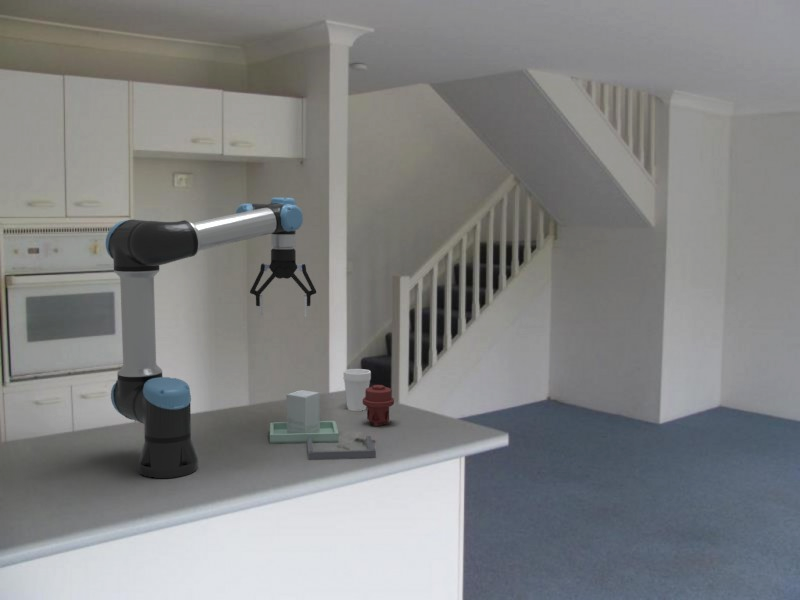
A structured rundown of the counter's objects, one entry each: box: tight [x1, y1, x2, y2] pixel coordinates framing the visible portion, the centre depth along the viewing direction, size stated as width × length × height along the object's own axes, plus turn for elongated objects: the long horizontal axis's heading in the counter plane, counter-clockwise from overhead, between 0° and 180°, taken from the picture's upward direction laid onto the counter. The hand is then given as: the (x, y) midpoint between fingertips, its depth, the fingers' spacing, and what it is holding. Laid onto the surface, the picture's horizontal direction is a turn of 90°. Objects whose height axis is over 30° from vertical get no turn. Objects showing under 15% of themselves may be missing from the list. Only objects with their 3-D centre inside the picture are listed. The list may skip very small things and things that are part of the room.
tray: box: [269, 420, 339, 445], centre depth 249 cm, size 20×14×3 cm
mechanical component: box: [363, 384, 395, 427], centre depth 264 cm, size 12×10×10 cm
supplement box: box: [286, 389, 321, 434], centre depth 249 cm, size 7×7×13 cm
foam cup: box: [343, 368, 372, 412], centre depth 283 cm, size 10×9×13 cm
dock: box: [306, 435, 377, 460], centre depth 235 cm, size 18×15×2 cm
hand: (283, 316), depth 256 cm, fingers open, 13 cm apart
